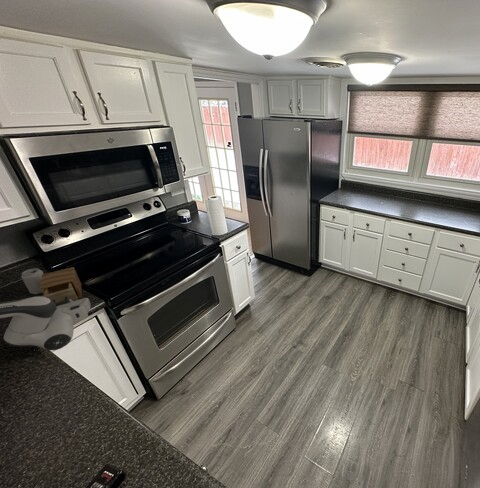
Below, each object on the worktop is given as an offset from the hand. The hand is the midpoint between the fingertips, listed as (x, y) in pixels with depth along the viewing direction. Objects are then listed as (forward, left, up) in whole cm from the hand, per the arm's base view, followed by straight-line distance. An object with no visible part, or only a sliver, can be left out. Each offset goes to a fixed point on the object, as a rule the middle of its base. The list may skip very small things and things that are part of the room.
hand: (60, 303), depth 119 cm
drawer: (0, +8, -5) cm, 10 cm away
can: (-10, +31, -6) cm, 33 cm away
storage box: (0, +19, -6) cm, 20 cm away
